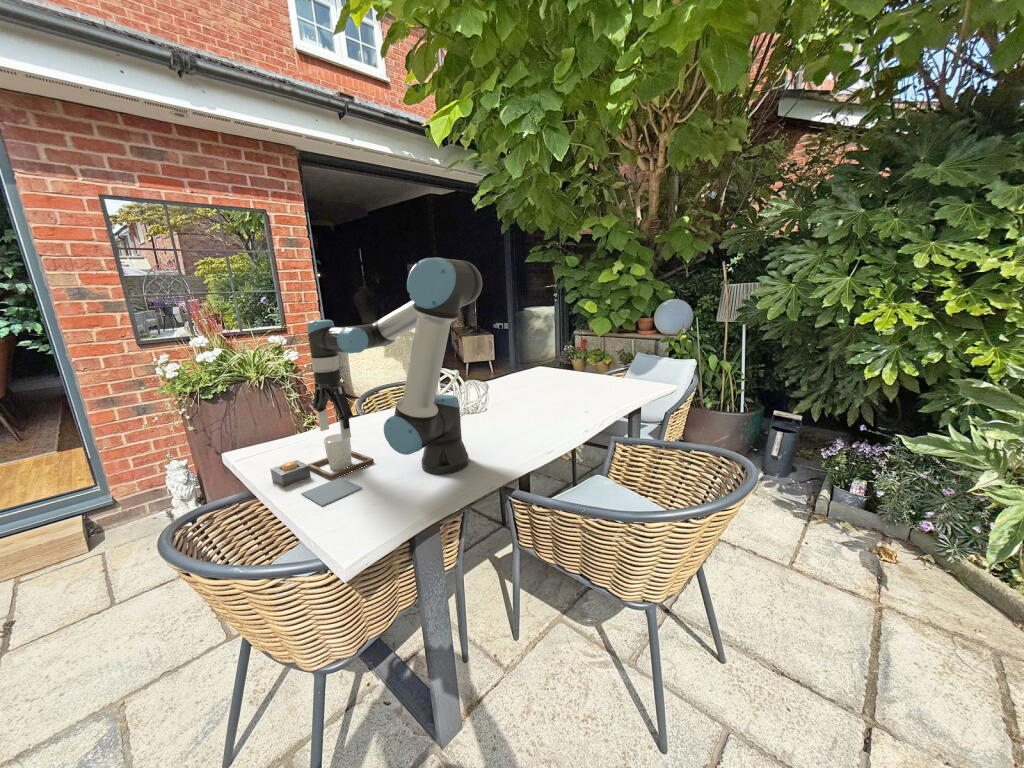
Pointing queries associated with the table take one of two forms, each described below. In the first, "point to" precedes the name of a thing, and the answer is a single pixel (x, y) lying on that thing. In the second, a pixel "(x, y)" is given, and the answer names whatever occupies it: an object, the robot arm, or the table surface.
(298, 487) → the table surface
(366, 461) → the collar
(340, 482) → the mat
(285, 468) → the orange rounded block
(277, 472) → the housing
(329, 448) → the white cup
